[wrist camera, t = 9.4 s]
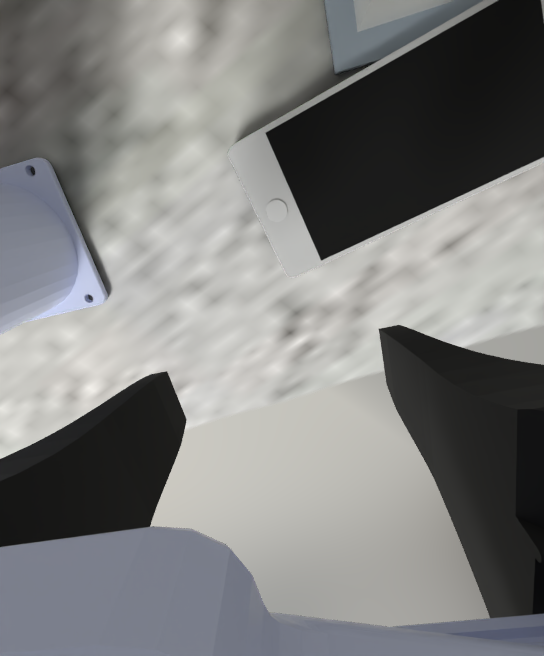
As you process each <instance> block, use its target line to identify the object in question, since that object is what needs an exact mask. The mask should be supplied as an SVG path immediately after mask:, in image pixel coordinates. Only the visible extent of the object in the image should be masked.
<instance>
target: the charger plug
mask: <svg viewBox="0 0 544 656" xmlns="http://www.w3.org/2000/svg"><path fill="white" fill-rule="evenodd" d="M353 1H354V9H355V16H356V24H357V32H360V31H363V30H366V29H369V28H372V27H375V26H378V25H381V24H384V23H387V22H390V21H394V20H397V19H400V18H403V17H406V16H409V15H412V14H415V13H418V12H421V11H425V10H428V9H431V8H434V7H437V6H440V5H443V4H446V3H449V2H452V1H453V0H353Z"/></svg>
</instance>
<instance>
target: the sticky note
mask: <svg viewBox="0 0 544 656" xmlns="http://www.w3.org/2000/svg"><path fill="white" fill-rule="evenodd" d="M482 1H483V0H453V1H452V2H449V3H446V4H443V5H440V6H437V7H434V8H431V9H428V10H425V11H421V12H418V13H415V14H412V15H409V16H406V17H403V18H400V19H397V20H394V21H390V22H387V23H384V24H381V25H378V26H375V27H372V28H369V29H366V30H363V31H360V32H357V24H356V16H355V9H354V1H353V0H324V5H325V11H326V18H327V25H328V32H329V38H330V45H331V52H332V58H333V65H334V72H335V74H339V73H342V72H345V71H349V70H352V69H355V68H359V67H362V66H365V65H368V64H372V63H375V62H377V61H379V60H381V59H383V58H384V57H386V56H388V55H389V54H391V53H393V52H395V51H396V50H398V49H400V48H402V47H403V46H405V45H407V44H409V43H410V42H412V41H414V40H416V39H417V38H419V37H421V36H423V35H424V34H426V33H428V32H430V31H431V30H433V29H435V28H437V27H438V26H440V25H442V24H444V23H445V22H447V21H449V20H450V19H452V18H454V17H456V16H457V15H459V14H461V13H463V12H464V11H466V10H468V9H470V8H471V7H473V6H475V5H477V4H478V3H480V2H482Z"/></svg>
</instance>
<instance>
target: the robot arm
mask: <svg viewBox="0 0 544 656" xmlns="http://www.w3.org/2000/svg"><path fill="white" fill-rule="evenodd" d="M31 167H34V169H35V172H36V173H35V175H33V174H32V173H31ZM88 294H89V295H91V296H92V297H93V301H92V300H90V299H89V298H88ZM107 299H108V295H107V292H106V289H105V287H104V285H103V282H102V280H101V278H100V276H99V273H98V271H97V269H96V266H95V264H94V262H93V259H92V257H91V255H90V252H89V250H88V248H87V246H86V243H85V241H84V239H83V236H82V234H81V232H80V229H79V227H78V225H77V223H76V220H75V218H74V216H73V213H72V211H71V209H70V206H69V204H68V202H67V199H66V197H65V195H64V193H63V190H62V188H61V186H60V183H59V181H58V179H57V176H56V174H55V172H54V170H53V167H52V165H51V164H50V162H49V161H47V160H46V159H44V158H33V159H29V160H26V161H23V162H20V163H16V164H13V165H10V166H7V167H3V168H0V335H1V334H3V333H5V332H7V331H9V330H11V329H13V328H15V327H17V326H19V325H20V324H22V323H24V322H28V321H32V320H36V319H41V318H45V317H49V316H53V315H58V314H62V313H66V312H70V311H75V310H79V309H83V308H88V307H92V306H96V305H100V304H102V303H104V302H106V300H107ZM379 333H380V340H381V347H382V354H383V361H384V368H385V375H386V382H387V386H388V389H389V392H390V394H391V397H392V399H393V402H394V405H395V407H396V409H397V411H398V413H399V415H400V417H401V419H402V421H403V422H404V424H405V426H406V428H407V429H408V431H409V433H410V435H411V437H412V439H413V440H414V442H415V444H416V446H417V447H418V449H419V451H420V453H421V455H422V456H423V458H424V460H425V462H426V464H427V465H428V467H429V469H430V471H431V473H432V475H433V477H434V479H435V482H436V484H437V486H438V489H439V491H440V493H441V496H442V498H443V500H444V503H445V505H446V507H447V510H448V512H449V514H450V517H451V519H452V522H453V524H454V527H455V529H456V531H457V534H458V537H459V539H460V541H461V544H462V546H463V548H464V551H465V554H466V556H467V559H468V561H469V564H470V566H471V569H472V571H473V574H474V577H475V579H476V582H477V584H478V587H479V589H480V592H481V594H482V597H483V599H484V602H485V605H486V608H487V610H488V613H489V616H490V618H489V619H476V620H465V621H453V622H441V623H429V624H417V625H406V626H393V627H387V626H378V625H370V624H362V623H355V622H346V621H338V620H329V619H321V618H314V617H306V616H298V615H290V614H282V613H272V612H268V610H267V609H266V607H265V605H264V603H263V601H262V598H261V596H260V593H259V591H258V588H257V586H256V583H255V581H254V578H253V576H252V574H251V573H250V572H249V571H248V569H247V568H246V567H245V566H244V565H243V563H242V562H241V561H240V560H239V559H238V557H237V556H236V555H235V554H234V553H233V552H232V550H231V549H230V548H229V547H228V546H227V545H226V544H224V543H222V542H219V541H217V540H215V539H213V538H211V537H209V536H206V535H204V534H202V533H200V532H198V531H195V530H193V529H187V528H186V529H185V528H170V527H154V526H153V527H150V525H151V521H152V518H153V515H154V512H155V509H156V507H157V504H158V502H159V499H160V497H161V494H162V491H163V489H164V486H165V484H166V481H167V479H168V477H169V474H170V472H171V469H172V466H173V464H174V462H175V459H176V457H177V454H178V451H179V448H180V446H181V442H182V438H183V434H184V429H185V425H186V417H185V415H184V412H183V410H182V407H181V405H180V402H179V400H178V397H177V395H176V393H175V390H174V388H173V385H172V383H171V380H170V378H169V375H168V373H167V371H166V372H161V373H156V374H151V375H149V376H146V377H144V378H142V379H140V380H139V381H137V382H135V383H134V384H132V385H130V386H129V387H127V388H126V389H124V390H123V391H121V392H119V393H118V394H116V395H115V396H113V397H112V398H110V399H109V400H107V401H106V402H104V403H103V404H101V405H100V406H98V407H96V408H95V409H93V410H92V411H90V412H88V413H87V414H85V415H84V416H82V417H80V418H79V419H77V420H75V421H74V422H72V423H71V424H69V425H67V426H65V427H64V428H62V429H60V430H58V431H57V432H55V433H53V434H51V435H49V436H47V437H45V438H44V439H42V440H40V441H38V442H36V443H34V444H32V445H30V446H28V447H26V448H24V449H21V450H19V451H17V452H15V453H13V454H11V455H8V456H6V457H4V458H2V459H0V656H544V365H541V364H534V363H526V362H520V361H515V360H509V359H504V358H500V357H495V356H490V355H486V354H482V353H478V352H475V351H471V350H468V349H465V348H461V347H458V346H455V345H452V344H449V343H446V342H443V341H441V340H438V339H435V338H432V337H430V336H427V335H425V334H422V333H420V332H417V331H415V330H412V329H410V328H407V327H404V326H401V325H397V326H392V327H387V328H382V329H379Z"/></svg>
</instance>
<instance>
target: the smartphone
mask: <svg viewBox="0 0 544 656" xmlns="http://www.w3.org/2000/svg"><path fill="white" fill-rule="evenodd" d="M228 157H229V160H230V162H231V164H232V166H233V168H234V170H235V172H236V174H237V176H238V178H239V180H240V182H241V184H242V186H243V188H244V190H245V192H246V194H247V196H248V198H249V200H250V203H251V205H252V207H253V209H254V211H255V213H256V215H257V217H258V219H259V221H260V223H261V225H262V227H263V229H264V231H265V233H266V235H267V237H268V239H269V241H270V244H271V246H272V248H273V250H274V252H275V254H276V256H277V258H278V260H279V262H280V264H281V266H282V268H283V270H284V272H285V274H286V276H287V277H290V278H292V277H297V276H300V275H302V274H304V273H306V272H309V271H311V270H313V269H315V268H317V267H319V266H322V265H324V264H326V263H328V262H330V261H332V260H335V259H337V258H339V257H341V256H343V255H345V254H348V253H350V252H352V251H354V250H356V249H358V248H361V247H363V246H365V245H367V244H369V243H371V242H373V241H376V240H378V239H380V238H382V237H384V236H386V235H389V234H391V233H393V232H395V231H397V230H399V229H402V228H404V227H406V226H408V225H410V224H412V223H415V222H417V221H419V220H421V219H423V218H425V217H428V216H430V215H432V214H434V213H436V212H438V211H441V210H443V209H445V208H447V207H449V206H451V205H454V204H456V203H458V202H460V201H462V200H464V199H467V198H469V197H471V196H473V195H475V194H477V193H480V192H482V191H484V190H486V189H488V188H490V187H493V186H495V185H497V184H499V183H501V182H503V181H505V180H508V179H510V178H512V177H514V176H516V175H518V174H521V173H523V172H525V171H527V170H529V169H531V168H534V167H536V166H538V165H540V164H542V163H544V0H484V1H482V2H480V3H478V4H477V5H475V6H473V7H471V8H470V9H468V10H466V11H464V12H463V13H461V14H459V15H457V16H456V17H454V18H452V19H450V20H449V21H447V22H445V23H444V24H442V25H440V26H438V27H437V28H435V29H433V30H431V31H430V32H428V33H426V34H424V35H423V36H421V37H419V38H417V39H416V40H414V41H412V42H410V43H409V44H407V45H405V46H403V47H402V48H400V49H398V50H396V51H395V52H393V53H391V54H389V55H388V56H386V57H384V58H383V59H381V60H379V61H377V62H376V63H374V64H372V65H370V66H369V67H367V68H365V69H363V70H362V71H360V72H358V73H356V74H355V75H353V76H351V77H349V78H348V79H346V80H344V81H342V82H341V83H339V84H337V85H335V86H334V87H332V88H330V89H329V90H327V91H325V92H323V93H322V94H320V95H318V96H316V97H315V98H313V99H311V100H309V101H308V102H306V103H304V104H302V105H301V106H299V107H297V108H295V109H294V110H292V111H290V112H288V113H287V114H285V115H283V116H281V117H280V118H278V119H276V120H274V121H273V122H271V123H269V124H268V125H266V126H264V127H262V128H261V129H259V130H257V131H255V132H254V133H252V134H250V135H248V136H247V137H245V138H243V139H241V140H240V141H238V142H236V143H235V144H234V145H232V146H231V148H230V149H229V151H228Z"/></svg>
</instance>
